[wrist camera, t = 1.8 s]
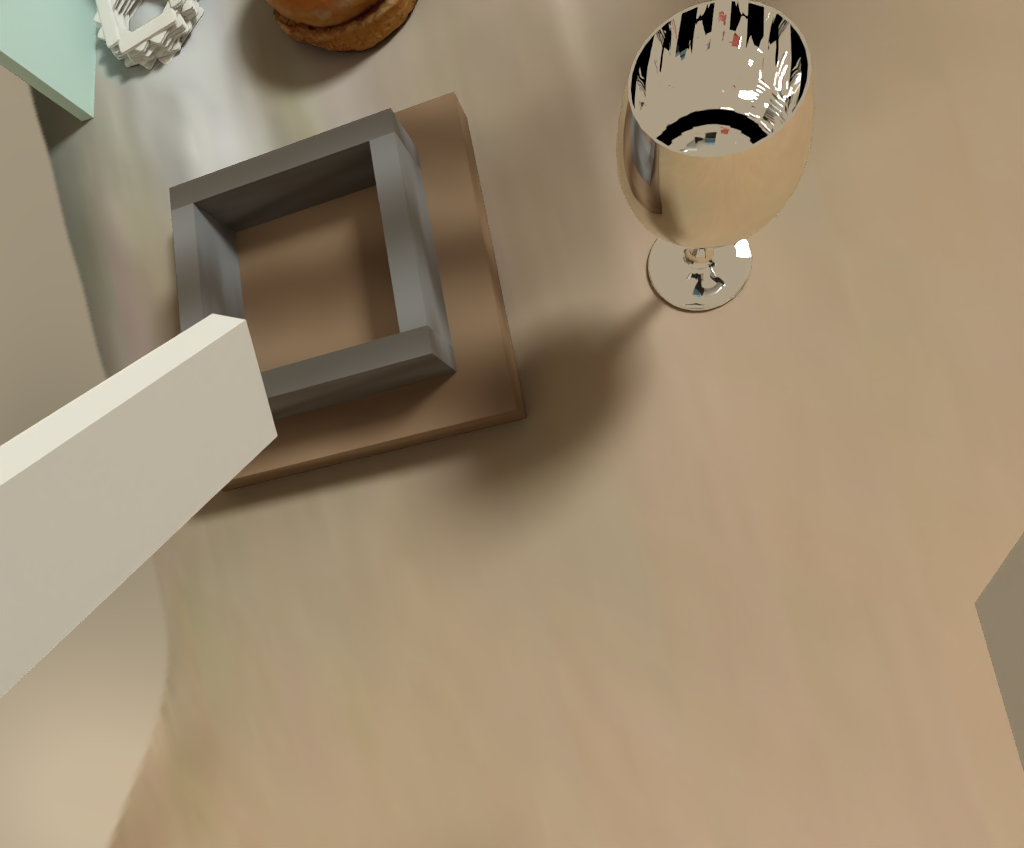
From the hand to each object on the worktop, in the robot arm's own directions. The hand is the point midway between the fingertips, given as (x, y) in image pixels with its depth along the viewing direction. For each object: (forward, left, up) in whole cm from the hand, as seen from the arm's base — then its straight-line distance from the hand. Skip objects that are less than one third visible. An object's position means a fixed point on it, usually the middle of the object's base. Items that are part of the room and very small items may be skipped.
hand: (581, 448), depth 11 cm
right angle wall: (+35, +21, -18) cm, 45 cm away
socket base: (+13, +12, -17) cm, 24 cm away
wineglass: (+10, -5, -17) cm, 20 cm away
